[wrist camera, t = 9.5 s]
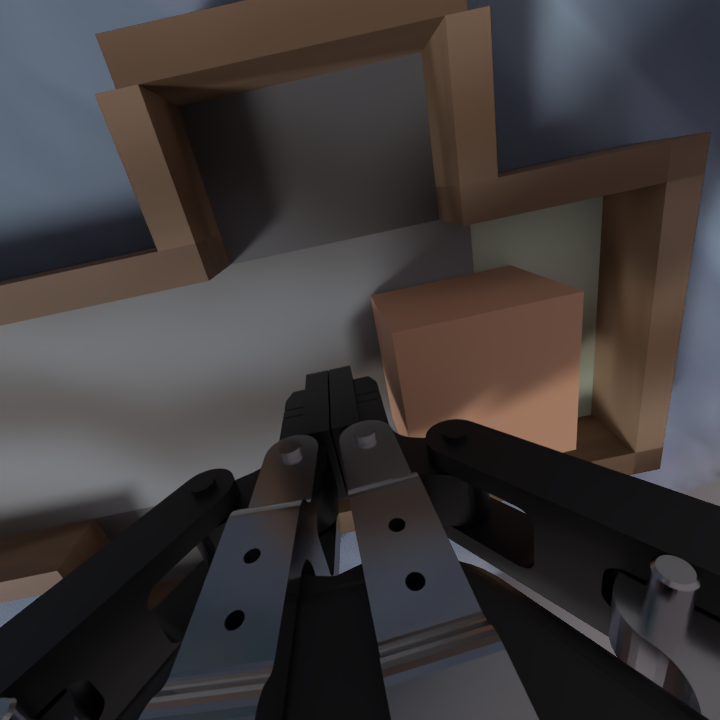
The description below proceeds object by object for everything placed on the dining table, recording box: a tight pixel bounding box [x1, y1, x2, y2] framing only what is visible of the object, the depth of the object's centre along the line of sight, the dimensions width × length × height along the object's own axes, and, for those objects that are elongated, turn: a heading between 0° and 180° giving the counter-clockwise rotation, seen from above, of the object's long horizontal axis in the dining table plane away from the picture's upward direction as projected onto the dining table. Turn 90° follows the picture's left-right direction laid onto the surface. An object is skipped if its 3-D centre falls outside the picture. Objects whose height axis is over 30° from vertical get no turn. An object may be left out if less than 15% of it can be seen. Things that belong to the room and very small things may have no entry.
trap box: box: [0, 0, 711, 610], centre depth 14 cm, size 20×32×3 cm, turn 101°
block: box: [370, 265, 584, 453], centre depth 13 cm, size 5×5×4 cm
